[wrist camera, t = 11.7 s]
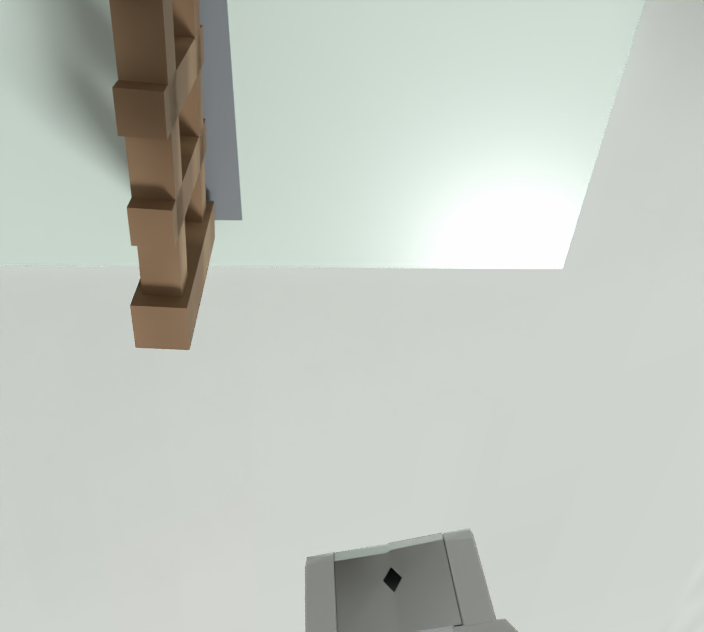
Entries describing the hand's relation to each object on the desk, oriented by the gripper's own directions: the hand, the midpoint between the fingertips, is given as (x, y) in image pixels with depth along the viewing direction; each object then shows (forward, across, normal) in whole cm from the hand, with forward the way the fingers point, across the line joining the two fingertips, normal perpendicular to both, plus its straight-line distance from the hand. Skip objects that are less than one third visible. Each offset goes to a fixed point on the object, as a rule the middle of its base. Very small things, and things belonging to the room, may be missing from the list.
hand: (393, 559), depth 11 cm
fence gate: (+12, +4, -6) cm, 14 cm away
